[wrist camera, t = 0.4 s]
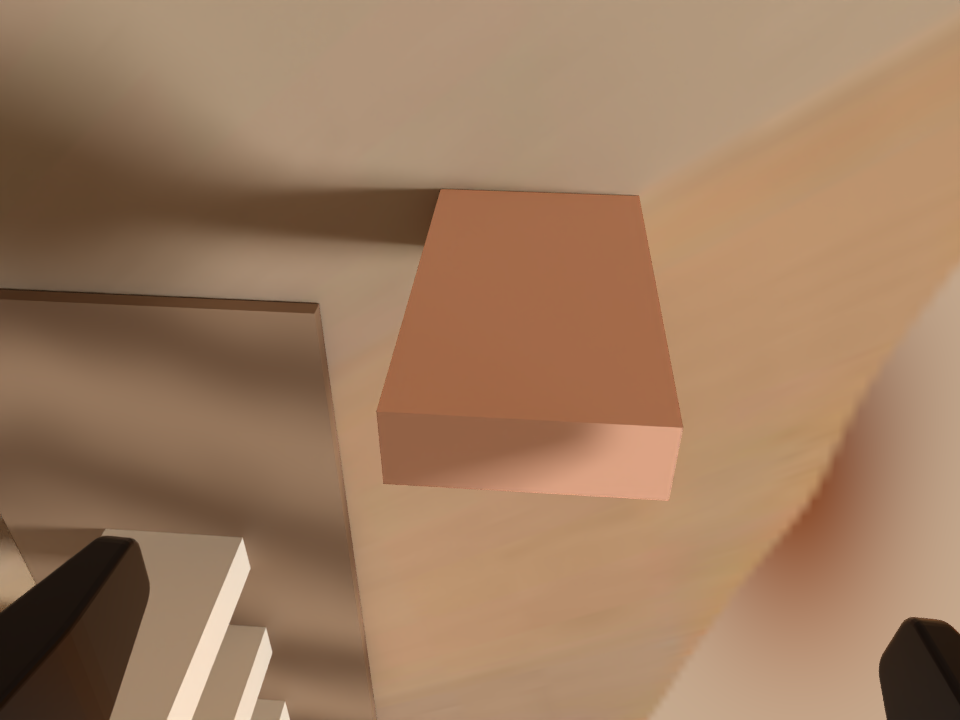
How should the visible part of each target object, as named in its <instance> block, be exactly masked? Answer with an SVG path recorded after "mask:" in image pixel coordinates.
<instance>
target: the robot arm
mask: <svg viewBox="0 0 960 720" xmlns="http://www.w3.org/2000/svg"><path fill="white" fill-rule="evenodd" d="M149 594H150V582H149V577H148V574H147V570H146V567H145V563H144V559H143V556H142V552H141V549H140V546H139V543H138V542H137V541H136V540H135V539H133V538H127V537H118V536H101V537H98V538H96V539H95V540H93V541H92V542H90V543H89V544H88V545H87V546H85V547H84V548H83V549H81V550H80V551H79V552H78V553H76V554H75V555H74V556H72V557H71V558H70V559H69V560H67V561H66V562H65V563H63V564H62V565H61V566H60V567H58V568H57V569H56V570H54V571H53V572H52V573H51V574H49V575H48V576H47V577H45V578H44V579H43V580H42V581H40V582H39V583H38V584H36V585H35V586H34V587H33V588H31V589H30V590H29V591H27V592H26V593H25V594H24V595H22V596H21V597H20V598H18V599H17V600H16V601H15V602H13V603H12V604H11V605H9V606H8V607H7V608H6V609H4V610H3V611H2V612H0V720H110V717H111V714H112V711H113V708H114V705H115V702H116V699H117V696H118V693H119V690H120V687H121V684H122V680H123V677H124V674H125V671H126V668H127V665H128V662H129V659H130V656H131V653H132V649H133V646H134V643H135V640H136V637H137V634H138V631H139V628H140V625H141V622H142V618H143V615H144V612H145V609H146V606H147V603H148V599H149ZM879 678H880V684H881V689H882V695H883V701H884V706H885V712H886V717H887V720H960V634H959V633H958V632H957V631H956V630H955V629H954V628H953V627H952V626H951V625H949V624H948V623H946V622H944V621H942V620H937V619H928V618H918V617H911V618H908V619H906V620H904V622H903V623H902V624H901V626H900V627H899V629H898V631H897V632H896V634H895V635H894V637H893V639H892V640H891V642H890V643H889V645H888V646H887V648H886V650H885V651H884V653H883V654H882V657H881V660H880V664H879Z"/></svg>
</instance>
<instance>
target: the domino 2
mask: <svg viewBox="0 0 960 720" xmlns="http://www.w3.org/2000/svg"><path fill="white" fill-rule="evenodd" d="M271 656H272V649H271V645H270V641H269V637H268V633H267V629H266V627H253V626H239V625H228V628H227V630H226V633H225V635H224V638H223V640H222V643H221V646H220V648H219V651H218V653H217V656H216V658H215V661H214V664H213V666H212V669H211V671H210V674H209V676H208V679H207V681H206V684H205V687H204V689H203V692H202V694H201V697H200V699H199V702H198V705H197V707H196V710H195V712H194V715H193V717H192V720H251V717H252V714H253V710H254V707H255V704H256V701H257V698H258V695H259V692H260V689H261V686H262V683H263V680H264V677H265V674H266V671H267V668H268V665H269V662H270V659H271Z"/></svg>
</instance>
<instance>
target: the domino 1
mask: <svg viewBox="0 0 960 720" xmlns="http://www.w3.org/2000/svg"><path fill="white" fill-rule="evenodd" d="M101 536H118V537H127V538H133V539H135V540H136V541H137V542H138V543H139V546H140V549H141V552H142V556H143V559H144V563H145V567H146V570H147V574H148V577H149V582H150V594H149V599H148V603H147V606H146V609H145V612H144V615H143V618H142V622H141V625H140V628H139V631H138V634H137V637H136V640H135V643H134V646H133V649H132V653H131V656H130V659H129V662H128V665H127V668H126V671H125V674H124V677H123V680H122V684H121V687H120V690H119V693H118V696H117V699H116V702H115V705H114V708H113V711H112V714H111V717H110V720H192V717H193V715H194V712H195V710H196V707H197V705H198V702H199V699H200V697H201V694H202V692H203V689H204V687H205V684H206V681H207V679H208V676H209V674H210V671H211V669H212V666H213V664H214V661H215V658H216V656H217V653H218V651H219V648H220V646H221V643H222V640H223V638H224V635H225V633H226V630H227V628H228V625H229V623H230V620H231V617H232V615H233V612H234V610H235V607H236V605H237V602H238V599H239V597H240V594H241V592H242V589H243V587H244V584H245V582H246V579H247V576H248V574H249V571H250V569H251V568H250V564H249V560H248V556H247V552H246V549H245V545H244V541H243V538H242V537H226V536H211V535H195V534H180V533H164V532H149V531H133V530H118V529H105V531H104V532H103V534H102V535H101Z"/></svg>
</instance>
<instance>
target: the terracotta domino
mask: <svg viewBox="0 0 960 720" xmlns="http://www.w3.org/2000/svg"><path fill="white" fill-rule="evenodd" d="M376 412H377V422H378V433H379V443H380V453H381V463H382V474H383V484H395V485H412V486H429V487H446V488H463V489H480V490H497V491H514V492H530V493H547V494H564V495H581V496H598V497H615V498H632V499H649V500H666V501H669V496H670V491H671V486H672V481H673V476H674V471H675V466H676V461H677V456H678V451H679V447H680V442H681V437H682V432H683V424H682V419H681V414H680V408H679V403H678V398H677V393H676V387H675V382H674V377H673V372H672V366H671V361H670V356H669V351H668V345H667V340H666V335H665V330H664V324H663V319H662V314H661V309H660V303H659V298H658V293H657V288H656V282H655V277H654V272H653V267H652V261H651V256H650V251H649V246H648V240H647V235H646V230H645V225H644V219H643V214H642V209H641V204H640V198H639V196H626V195H598V194H569V193H541V192H512V191H484V190H455V189H441V190H440V193H439V197H438V200H437V204H436V207H435V210H434V214H433V217H432V221H431V224H430V228H429V231H428V235H427V238H426V242H425V245H424V249H423V252H422V256H421V259H420V262H419V266H418V269H417V273H416V276H415V280H414V283H413V287H412V290H411V294H410V297H409V301H408V304H407V307H406V311H405V314H404V318H403V321H402V325H401V328H400V332H399V335H398V339H397V342H396V346H395V349H394V352H393V356H392V359H391V363H390V366H389V370H388V373H387V377H386V380H385V384H384V387H383V391H382V394H381V397H380V401H379V404H378V408H377V411H376Z"/></svg>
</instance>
